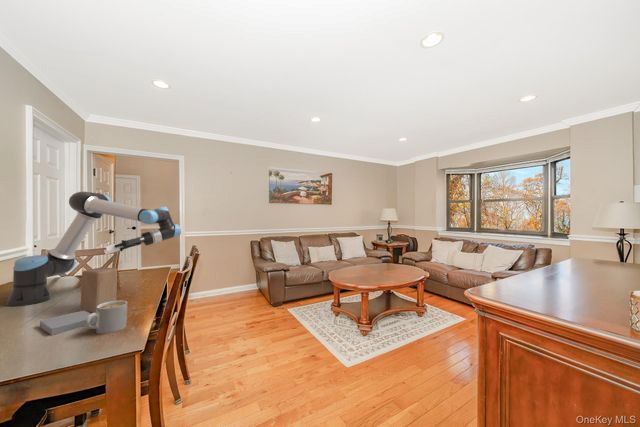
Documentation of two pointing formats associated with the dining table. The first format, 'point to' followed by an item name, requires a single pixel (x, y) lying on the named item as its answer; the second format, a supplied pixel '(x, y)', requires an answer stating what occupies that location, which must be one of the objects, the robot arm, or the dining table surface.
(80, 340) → the dining table surface
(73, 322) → the stand
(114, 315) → the coffee mug
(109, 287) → the block
